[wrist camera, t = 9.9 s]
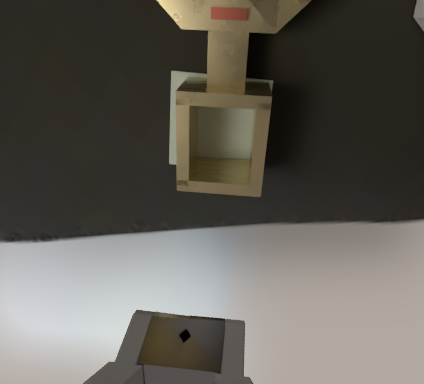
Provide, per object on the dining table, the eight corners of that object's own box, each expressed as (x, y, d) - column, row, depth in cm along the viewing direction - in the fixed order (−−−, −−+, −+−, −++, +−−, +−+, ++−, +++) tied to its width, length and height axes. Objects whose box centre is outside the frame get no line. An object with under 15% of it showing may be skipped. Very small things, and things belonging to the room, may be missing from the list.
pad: (171, 70, 25) (171, 70, 25) (273, 80, 24) (273, 80, 24) (169, 162, 28) (169, 163, 28) (258, 172, 28) (258, 173, 28)
